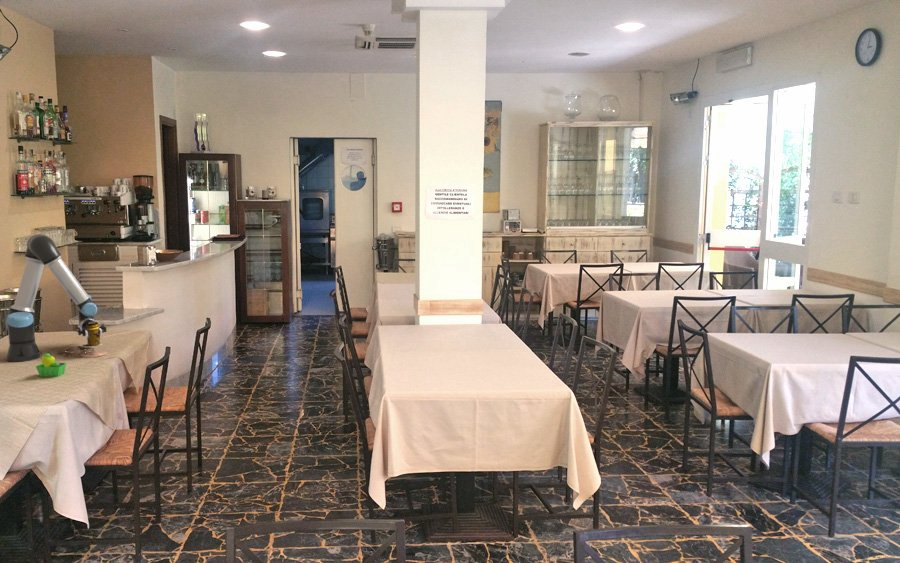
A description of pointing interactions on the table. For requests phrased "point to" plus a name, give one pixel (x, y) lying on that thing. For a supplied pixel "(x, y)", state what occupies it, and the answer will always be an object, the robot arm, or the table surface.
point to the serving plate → (94, 354)
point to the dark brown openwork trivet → (75, 352)
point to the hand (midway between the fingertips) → (94, 333)
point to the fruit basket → (50, 367)
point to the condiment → (93, 335)
